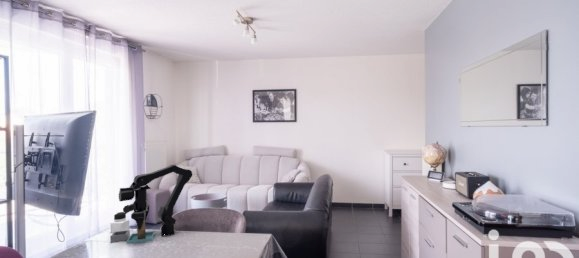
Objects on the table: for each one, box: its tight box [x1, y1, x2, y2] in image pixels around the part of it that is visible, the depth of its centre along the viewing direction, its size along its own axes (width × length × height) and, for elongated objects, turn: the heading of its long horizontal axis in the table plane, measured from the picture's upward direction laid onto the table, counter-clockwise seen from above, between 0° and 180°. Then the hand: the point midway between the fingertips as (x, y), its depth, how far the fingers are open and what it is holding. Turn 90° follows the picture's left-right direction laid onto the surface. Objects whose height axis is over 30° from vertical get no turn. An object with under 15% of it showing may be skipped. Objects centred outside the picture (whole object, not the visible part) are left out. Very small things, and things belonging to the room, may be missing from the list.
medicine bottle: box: [110, 211, 130, 234], centre depth 171 cm, size 7×7×12 cm
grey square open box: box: [110, 229, 131, 244], centre depth 156 cm, size 8×8×4 cm
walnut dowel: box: [136, 219, 147, 239], centre depth 157 cm, size 4×4×10 cm
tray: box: [126, 231, 156, 245], centre depth 157 cm, size 12×12×2 cm
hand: (141, 226), depth 157 cm, fingers open, 9 cm apart
